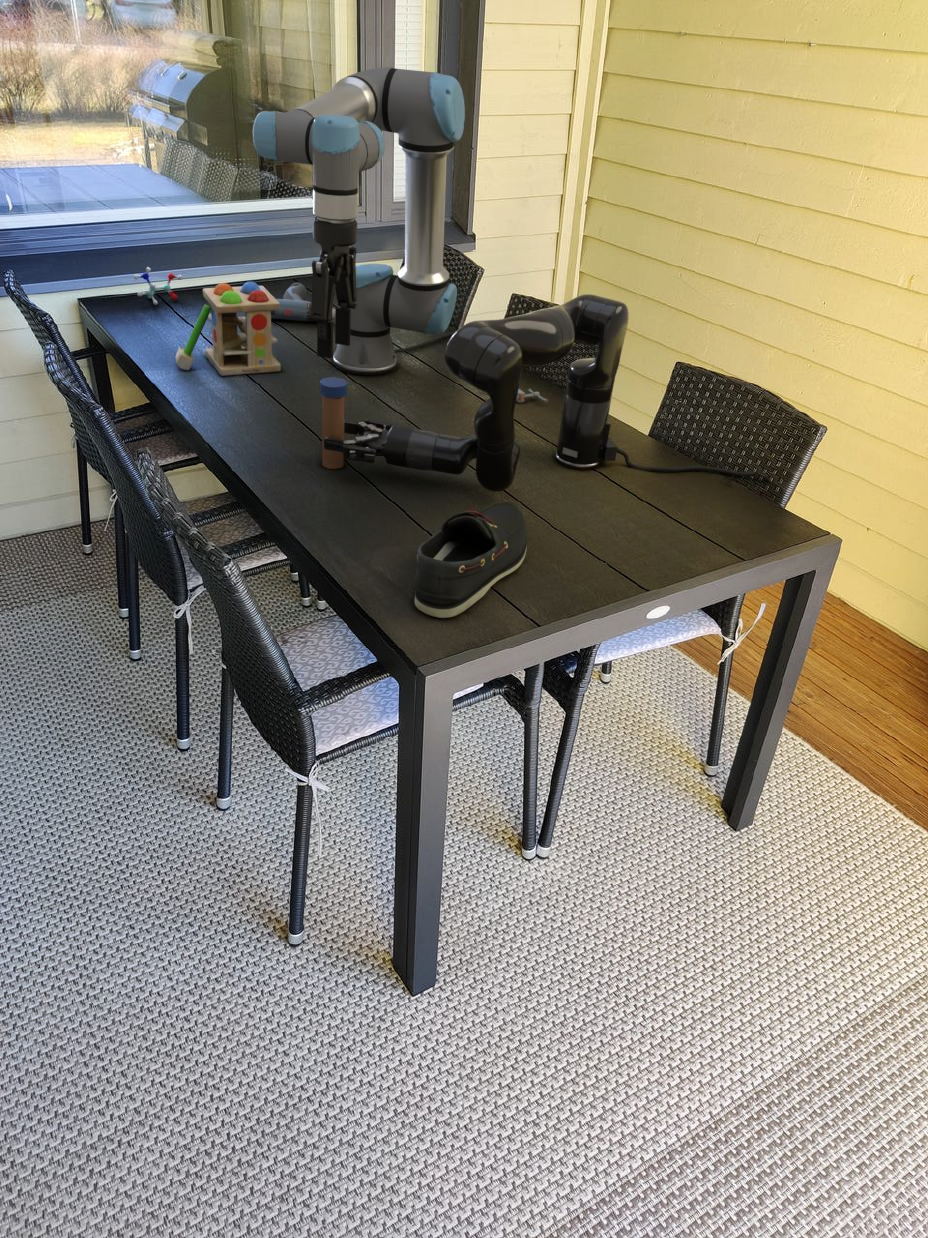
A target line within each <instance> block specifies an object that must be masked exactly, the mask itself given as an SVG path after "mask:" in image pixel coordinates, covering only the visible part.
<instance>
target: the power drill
mask: <svg viewBox="0 0 928 1238" xmlns="http://www.w3.org/2000/svg"><path fill="white" fill-rule="evenodd" d="M307 295H308V290H307V287H306V285H304V284H303V283H301V282H293V283H292V284H291V285H290V286H289V287H288V288H287V289H286V291H285V292H284V294H283V297H282V298H275V299H276V300H277V301H278V302H279V303H280V310H271V319H274V320H275V319H276V320H283V321H294V322H295V321H297V322H317V321H316V320H312V319H311V303H312V301H307V300H305V299H306V297H307ZM335 311H336V308H334V307H332V314H331V320H330V321H333V320H334V319H335Z"/></svg>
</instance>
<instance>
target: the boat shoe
mask: <svg viewBox="0 0 928 1238" xmlns="http://www.w3.org/2000/svg"><path fill="white" fill-rule="evenodd" d="M527 533H528V532H527V526H526V520H525V518H524V515H523V514H522V512H521V510H520V508H519V507H518V506H517V505H515V504H514V503H512V502H509V501H499V502H495V503H492V504H490V505H487V506H486V507H483V508H482V509H480V510H478V511H474V510H463V511H459V512H457V513H455V514H453V515H451V516H449V517H448V518H447V519H446V520H445V521H444V522H443V523H442V525H441V526H440V527H439V530H438V531H437V532H435V533H434V534H432V535H431V536H430V537H428V538H427V539H426V540H425V541H423V542H422V543H421V544H420V545H419V546H418V548H417V550H416V552H415V559H416V560H417V562H416V570H415V574H414V575H415V576H414V581H413V583H412V589H413V590H415V593H414V605H415V607H416V608H417V609H418V610H419V611H420V612H422V613H424V614H426V615H427V616H432V617H434V618H439V619H446V618H448V619H449V618H453V617H456V616H458V615H460V614H462V613H463V612H465V611H466V610H467V609H469V608H470V607H471V606H473V605H474V604H475V603H476V602H478V601H479V600H481V598H483V597H484V596H485V595H486V594H487V592H488V591H489V590H490V589H491V587H492V586H494V585H495V584H496V583H497V582H498V581H499V580H501V579H503V578H504V577H506V576H508V575H510V574H511V573H513V572H514V571H516V570H517V569H518V568H519V567H520V566H521V565H522V564H523V562H524V560H525V558H526V555H527V550H528V548H527V547H528V534H527Z"/></svg>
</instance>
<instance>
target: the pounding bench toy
mask: <svg viewBox="0 0 928 1238" xmlns="http://www.w3.org/2000/svg"><path fill="white" fill-rule="evenodd" d="M202 296H203V298H204V299H205V300H206V301H207V302H208V304H209V305H208V304H204V305H203V307H202V309H201V312H200V313H199V316H198V318H197V320H196V322H195V324H194V327H193V329H192V331H191V332H190V333H191V334H190V336H189V338H188V340H187V343H186V344H185V347H184V348H182V347H180V346H179V347H178V349H177V351H176V354H175V357H174V358H175V362H176V365H177V366H178V368H179V369H182V370H185V371H189V370H190V369H191V367H192V365H193V363H194V356H193V351H194V348H195V347H196V345H197V342H198V340H199V337H200V336H201V333H202V332H203V329H204V326H205V325H206V322H207V320H209V321H210V322H211V336H212V337H211V338H212V339H211V340H212V348H205V349H204V352H205V353H204V355H205V357H206V359H208V361H209V363H210V364H211V365H212V366H213V367H214V369H215V370H216V371H217V372H218V374H219V375H220V376H222V377H223V376H234V375H235V376H236V375H246V374H247V375H250V374H262V373H275V372H281V370H282V364H281V363H280V362H279V360H278V359H277V358H276V357H275V356H274V355H273V348H272V347H273V345H272V344H276V343H278V342H279V341H278V339H277V338H276V337H275V336H274V334H272V318H271V310H280V303H279V302H278V301H277V300H276V299H277V298H276V297H274V296H273V295H272V294H271V293H270V292H269V290H268V289H267V288H266V287H264V285H259V284H257V283H256V282H255V281H247V282H245V283H244V284H243V285H242V286H232V285H230V284H229V283H226V282H221V283H218V284H217V285H216V286H215V287H204V288H203V289H202ZM238 313H244V314H245V315H244V316H238ZM238 329H239V331H240V333H239V334H238Z"/></svg>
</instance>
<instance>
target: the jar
mask: <svg viewBox="0 0 928 1238" xmlns="http://www.w3.org/2000/svg"><path fill="white" fill-rule="evenodd" d="M345 421H346V396H344V397H342V398H328V397H325V396H322V395H321V466H322V467H324V468H326V469H329V470H337V469H341V468H343V467H345V459H343V452H338V451H332V450H327V449H325V448H324V440H325V438H326V437H329V438H335V439H341V440H344V441H345V434H346V433H345Z"/></svg>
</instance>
